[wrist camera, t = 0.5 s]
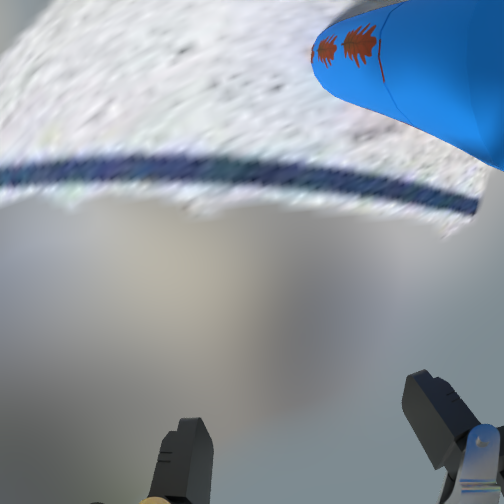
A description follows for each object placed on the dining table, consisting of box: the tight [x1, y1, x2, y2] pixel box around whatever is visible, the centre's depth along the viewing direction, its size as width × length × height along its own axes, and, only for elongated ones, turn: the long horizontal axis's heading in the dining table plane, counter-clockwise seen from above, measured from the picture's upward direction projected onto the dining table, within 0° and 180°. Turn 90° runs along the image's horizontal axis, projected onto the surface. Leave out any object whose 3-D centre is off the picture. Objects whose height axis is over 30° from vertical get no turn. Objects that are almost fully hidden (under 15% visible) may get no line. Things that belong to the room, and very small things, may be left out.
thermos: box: [311, 0, 504, 171], centre depth 17 cm, size 11×11×25 cm
